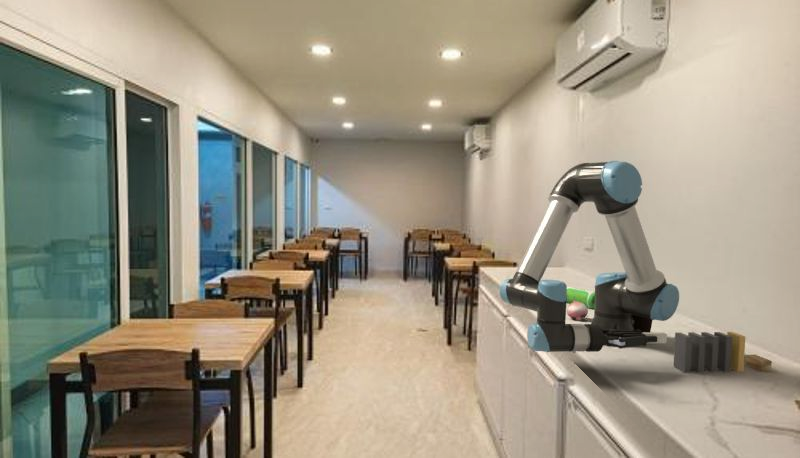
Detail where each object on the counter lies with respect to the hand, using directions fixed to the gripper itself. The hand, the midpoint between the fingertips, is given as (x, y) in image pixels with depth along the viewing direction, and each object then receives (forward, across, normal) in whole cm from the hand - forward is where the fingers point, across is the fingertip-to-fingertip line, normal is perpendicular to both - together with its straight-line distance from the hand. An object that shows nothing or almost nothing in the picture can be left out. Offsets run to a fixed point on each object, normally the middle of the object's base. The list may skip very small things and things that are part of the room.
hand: (664, 337), depth 147 cm
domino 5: (+22, 0, -9) cm, 23 cm away
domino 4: (+18, 0, -9) cm, 20 cm away
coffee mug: (+13, -35, -9) cm, 38 cm away
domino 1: (+6, 0, -9) cm, 11 cm away
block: (+29, 0, -9) cm, 30 cm away
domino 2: (+10, 0, -9) cm, 13 cm away
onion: (+2, -60, -9) cm, 61 cm away
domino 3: (+14, 0, -9) cm, 16 cm away
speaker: (+15, -86, -9) cm, 87 cm away
